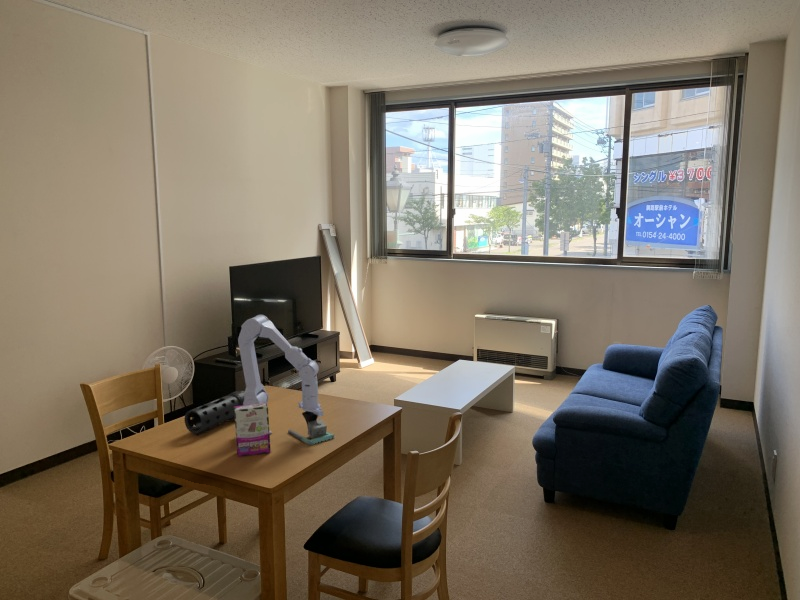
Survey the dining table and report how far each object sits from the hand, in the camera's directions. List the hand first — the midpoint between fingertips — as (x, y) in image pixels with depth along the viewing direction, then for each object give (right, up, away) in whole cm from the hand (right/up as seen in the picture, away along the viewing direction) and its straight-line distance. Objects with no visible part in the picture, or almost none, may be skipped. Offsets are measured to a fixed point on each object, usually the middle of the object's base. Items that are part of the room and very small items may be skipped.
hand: (311, 430), depth 219 cm
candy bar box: (-18, -4, -15) cm, 23 cm away
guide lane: (0, -2, 0) cm, 2 cm away
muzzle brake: (-38, -1, +14) cm, 40 cm away
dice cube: (+2, -2, -1) cm, 3 cm away
